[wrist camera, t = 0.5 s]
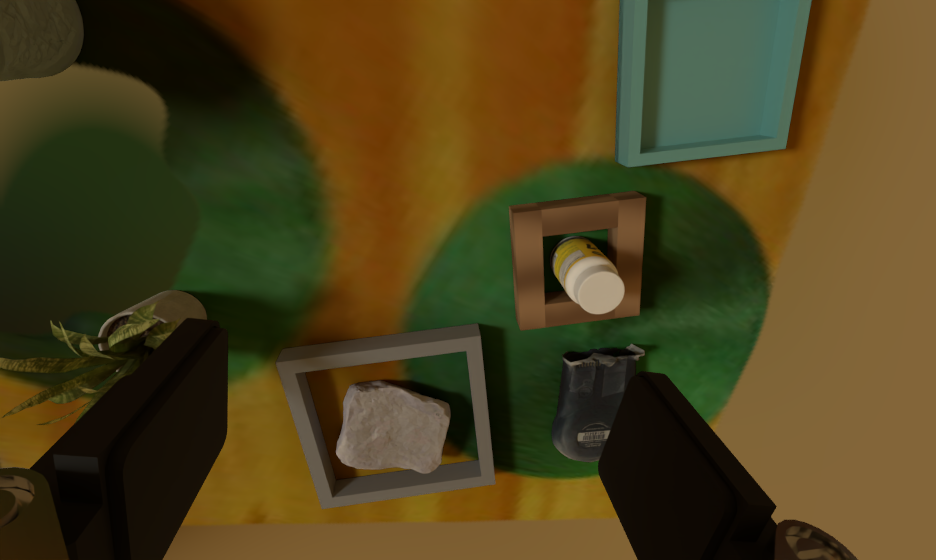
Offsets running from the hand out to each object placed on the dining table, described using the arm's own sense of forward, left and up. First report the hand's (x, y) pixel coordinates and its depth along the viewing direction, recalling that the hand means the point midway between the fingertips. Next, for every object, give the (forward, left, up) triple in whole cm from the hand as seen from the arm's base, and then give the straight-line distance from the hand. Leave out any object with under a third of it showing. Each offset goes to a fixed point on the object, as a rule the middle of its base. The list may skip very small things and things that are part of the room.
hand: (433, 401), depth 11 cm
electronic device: (+29, +15, -34) cm, 48 cm away
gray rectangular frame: (+27, -7, -34) cm, 44 cm away
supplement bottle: (+11, +13, -34) cm, 38 cm away
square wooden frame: (+11, +13, -34) cm, 38 cm away
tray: (-5, +24, -34) cm, 42 cm away
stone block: (+28, -7, -34) cm, 45 cm away
